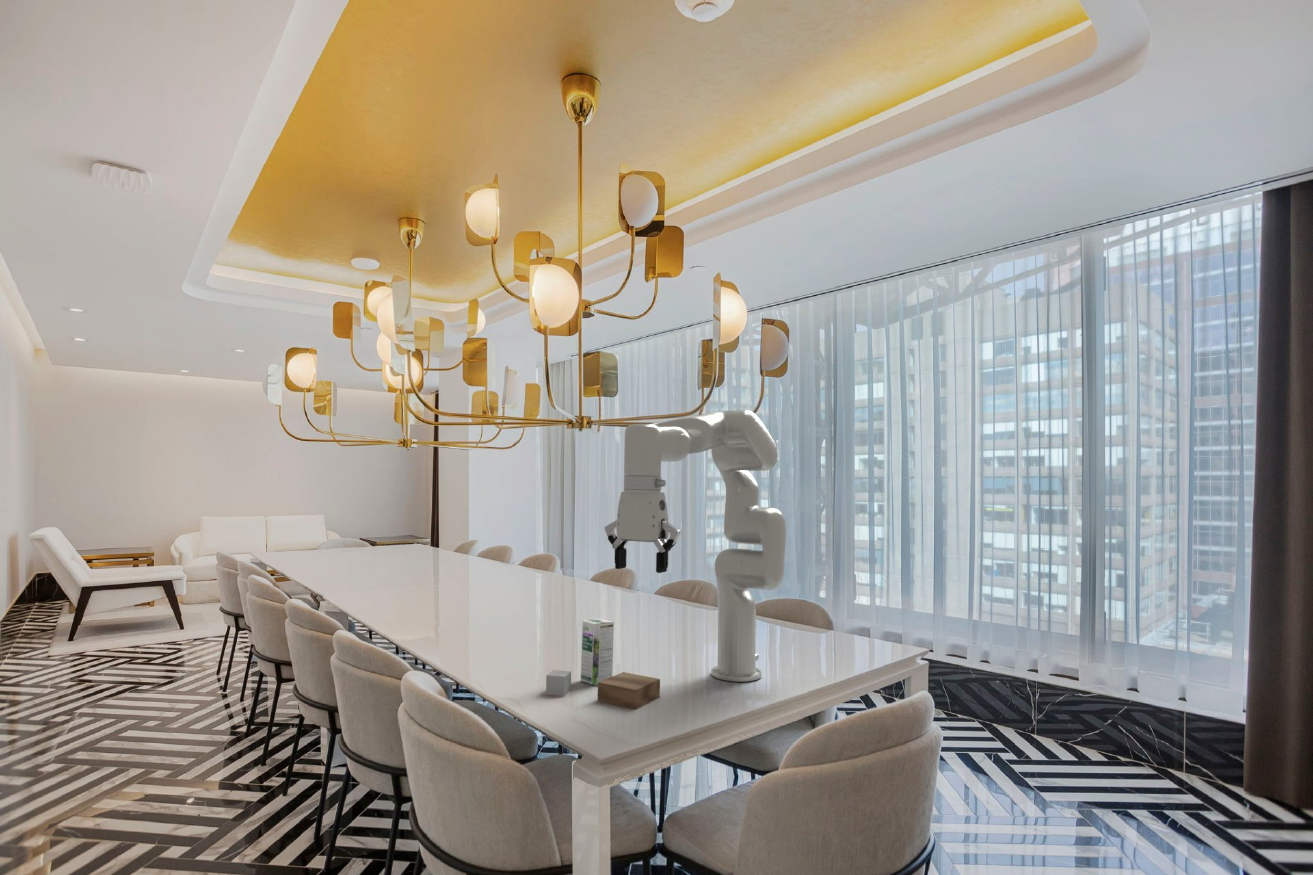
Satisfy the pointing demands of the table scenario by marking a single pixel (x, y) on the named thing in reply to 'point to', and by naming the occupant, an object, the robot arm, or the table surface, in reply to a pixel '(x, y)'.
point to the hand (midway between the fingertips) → (640, 570)
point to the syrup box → (597, 650)
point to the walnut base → (628, 690)
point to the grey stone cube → (558, 683)
